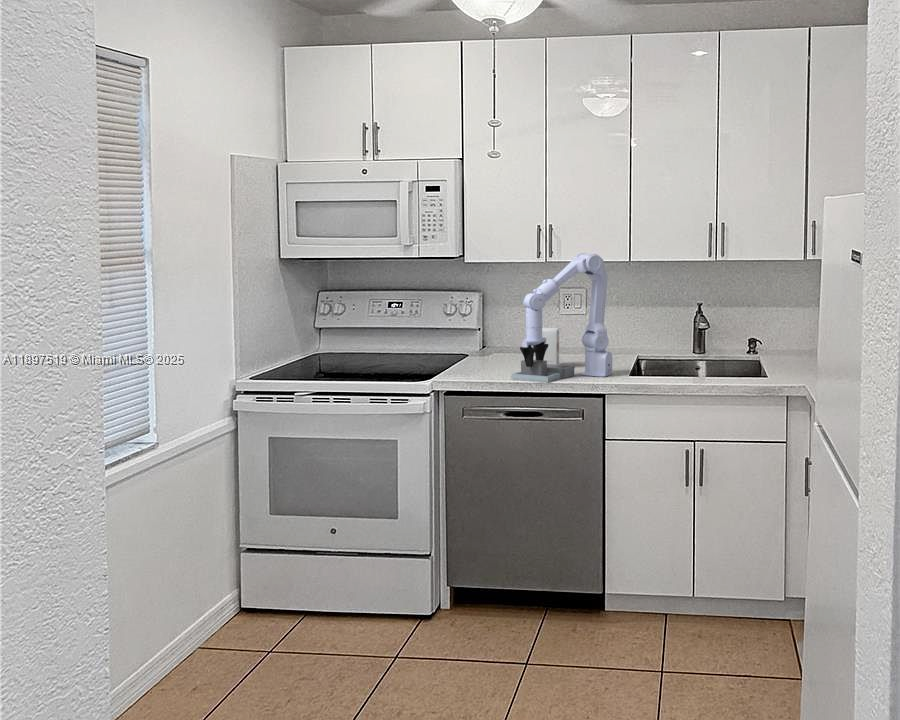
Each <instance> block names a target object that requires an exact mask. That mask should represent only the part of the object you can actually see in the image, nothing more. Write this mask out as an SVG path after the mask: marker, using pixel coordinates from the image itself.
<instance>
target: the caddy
mask: <svg viewBox="0 0 900 720" xmlns="http://www.w3.org/2000/svg"><path fill="white" fill-rule="evenodd" d="M520 372H521V374H523V375H536V376H547V361H544V360H534V359H533V366H532V367H526V363H525V359H523V360H522V359H521V361H520Z"/></svg>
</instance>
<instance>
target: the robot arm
mask: <svg viewBox="0 0 900 720" xmlns="http://www.w3.org/2000/svg"><path fill="white" fill-rule="evenodd" d="M604 264H605V260H604V259H603V258H602V257H601V256H600V255H599V254H597V253H593V254H591V253H585V252H582V253H581V252H580V253H579V254H578V255H577V256H576V257H573V258H572V260H570V262H569V263H568V264H567V265H566V266H565V267H563V269H562V270H561V271H559V272H558V273H557V275H555V277H553V278H552V279H551V278H547V279H543V280H542V284H540V285H539V286H538V287H537V288H534V289H533V290H532V293H531V292H530V293H528V294H526V295H525V297H524V299H523V301H522V305H523V307H524V308H525V318H526V319H525V328H526V329H525V338H524V339H523V341H521V346H519V350H520V351H521V354H522V356H523V358H524V359H523V360H525V363H526V367H532V366H533V360H534V353H535V356H536V360H544V355H545V352H546V350H547V348H548V344H545V343H546V338H543V337H542V328H543V309H544V308H545V306H546V302H548V301H549V300H550V299H551V298H552V297H554V296H555V295H556V294H557V293H558V292H559V291H560V286H562V284H564V283H565V282H567V281H568V280H569V279H570V278H571V277H573V276H574V275H576V274H579V273H584V274H586V275H587V276H588V277H589V278H590V279H591V281H592V282H591V291H590V306H589V314H588V315H589V317H588V324H587V325H586V326H585V328H584V333H583V334H582V337H581V342H582V345H583V346H584V356H585V357H584V359H585V360H584V372H583V373H582V372H581V373H580V376H591V377H601V378H605V377H608V376H611V375H614V373H613V354H612V352H611V351H607V350H606V349H607V348H608V346H609V340H610V339H609V337H608V329H607V328H606V326H605V313H606V300H607V291H608V290H607V288H608V280H609V279H608V276H609V275H608V273H607V269H606V267H605V265H604Z"/></svg>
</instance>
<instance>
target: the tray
mask: <svg viewBox="0 0 900 720" xmlns="http://www.w3.org/2000/svg"><path fill="white" fill-rule="evenodd" d="M510 375H511V376H510V378H511V379H519V380H518V381H524V380H530V381H529V382H537V381H538V382H537V383H539V382H540V383H552V382H554V381H553V380H555V381H557V380H556V379H558V380H560V379H561V378H560V373H547V376H536V375H523V374H521V371H517V372H514V373H511V374H510Z"/></svg>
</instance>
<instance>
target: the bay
mask: <svg viewBox="0 0 900 720" xmlns="http://www.w3.org/2000/svg"><path fill="white" fill-rule="evenodd" d="M547 373H560V379H563V378H564V379H567V378H570V376H571V377H573V375H574V376H575V365H569V364H568V365H566V364H559V365H556V364H547ZM566 377H567V378H566Z"/></svg>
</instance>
